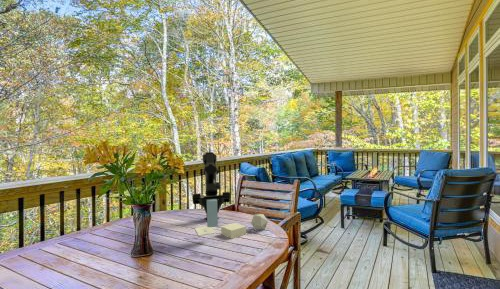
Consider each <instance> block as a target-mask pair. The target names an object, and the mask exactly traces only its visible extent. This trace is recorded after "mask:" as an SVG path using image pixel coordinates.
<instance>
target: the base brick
mask: <svg viewBox="0 0 500 289" xmlns="http://www.w3.org/2000/svg"><path fill="white" fill-rule="evenodd" d="M220 228H221V230H220V231H221V235H222V236H224V237H227V238H229V239H231V240H232V239H236V238H239V237H241V236H245V235H247V226H245V225H243V224H240V223H237V222H233V223H229V224H226V225H221V227H220Z"/></svg>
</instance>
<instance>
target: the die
mask: <svg viewBox="0 0 500 289" xmlns="http://www.w3.org/2000/svg"><path fill="white" fill-rule="evenodd" d="M268 222H269V220H268V219H267V218H266V216H265V215H264V213H259V214H253V216H252V219H251V221H250V224H251V225H252V227H253V228H254V230H255V231H264V230H266V228H267V224H268Z"/></svg>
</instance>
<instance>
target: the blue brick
mask: <svg viewBox="0 0 500 289" xmlns="http://www.w3.org/2000/svg"><path fill="white" fill-rule="evenodd" d="M218 214H219V212H218V211H217V199H209V200H207V216H206V217H207V220H206V221H207V224H206V227H212V228H218V227H219V222H218V220H219V219H218V218H219V216H218Z"/></svg>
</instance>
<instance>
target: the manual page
mask: <svg viewBox="0 0 500 289" xmlns="http://www.w3.org/2000/svg"><path fill="white" fill-rule="evenodd" d="M194 230H195V232H196V234H197V236H206V235H210V234H211V235H212V234H216V233H217V232H216V231H215V230H214V227H207V226H201V227H195V228H194Z"/></svg>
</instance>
